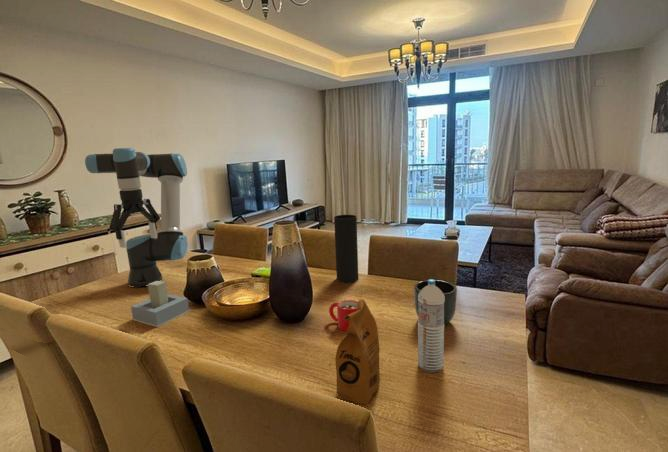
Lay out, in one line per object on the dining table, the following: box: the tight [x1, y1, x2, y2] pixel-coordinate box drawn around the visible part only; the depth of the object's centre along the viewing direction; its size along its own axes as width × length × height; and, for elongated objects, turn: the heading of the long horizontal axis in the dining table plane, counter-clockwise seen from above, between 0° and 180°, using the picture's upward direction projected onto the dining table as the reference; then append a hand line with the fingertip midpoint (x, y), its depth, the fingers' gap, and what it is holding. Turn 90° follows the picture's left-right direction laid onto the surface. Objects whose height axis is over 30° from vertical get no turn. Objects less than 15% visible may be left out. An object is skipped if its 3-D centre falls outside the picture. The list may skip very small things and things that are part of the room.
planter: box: [413, 279, 458, 327], centre depth 126 cm, size 14×14×13 cm
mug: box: [328, 299, 358, 332], centre depth 127 cm, size 8×12×8 cm, turn 59°
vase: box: [333, 214, 359, 284], centre depth 170 cm, size 10×10×30 cm
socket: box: [130, 293, 190, 328], centre depth 141 cm, size 14×14×6 cm
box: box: [147, 280, 169, 309], centre depth 140 cm, size 5×4×13 cm
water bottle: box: [417, 278, 445, 374], centre depth 99 cm, size 7×7×25 cm
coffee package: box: [334, 298, 381, 405], centre depth 91 cm, size 10×12×22 cm
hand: (139, 242), depth 146 cm, fingers open, 13 cm apart
